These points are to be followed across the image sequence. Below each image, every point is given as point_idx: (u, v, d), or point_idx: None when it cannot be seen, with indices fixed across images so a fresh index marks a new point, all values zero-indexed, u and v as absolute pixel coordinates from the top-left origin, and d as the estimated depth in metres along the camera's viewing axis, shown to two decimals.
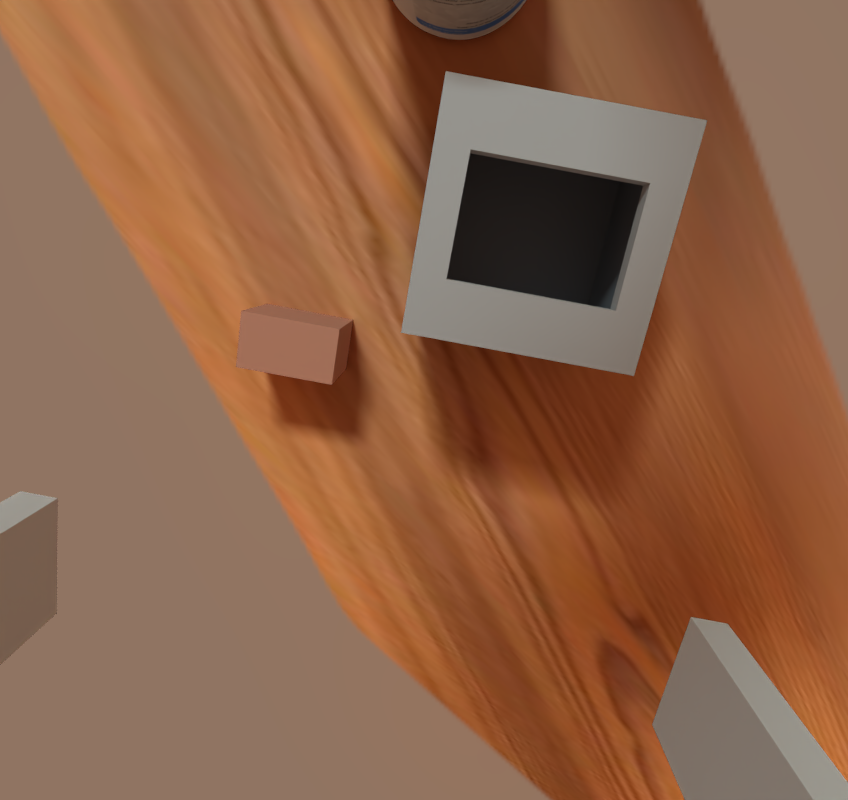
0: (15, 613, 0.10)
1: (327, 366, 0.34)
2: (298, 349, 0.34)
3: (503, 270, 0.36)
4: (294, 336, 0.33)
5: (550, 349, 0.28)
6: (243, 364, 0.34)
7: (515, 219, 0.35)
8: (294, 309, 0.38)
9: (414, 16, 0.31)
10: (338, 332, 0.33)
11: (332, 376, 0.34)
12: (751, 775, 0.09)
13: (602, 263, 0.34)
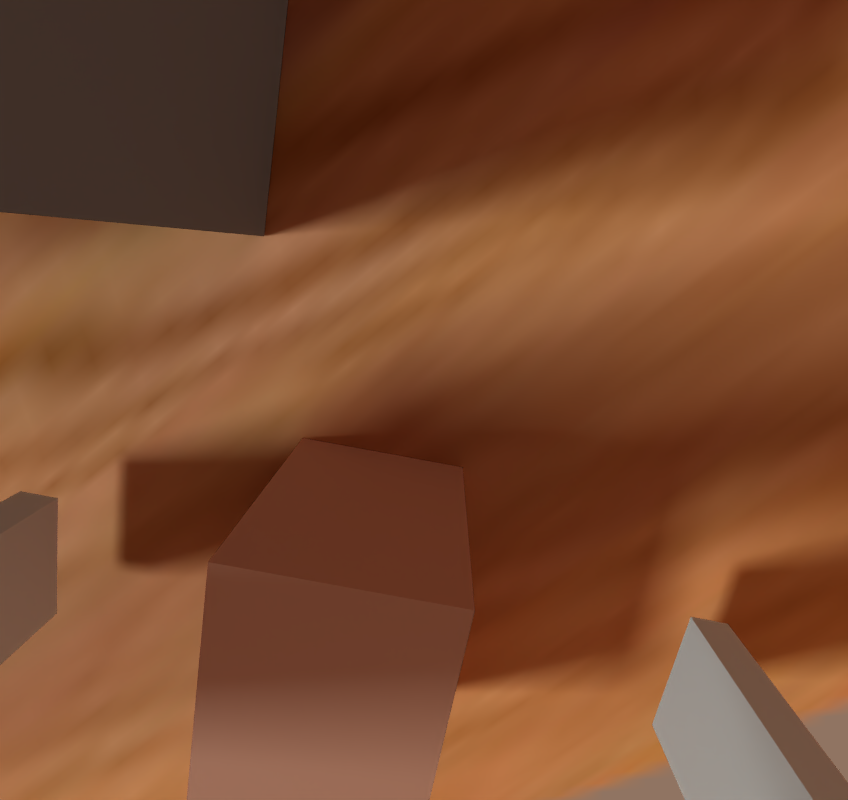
0: (15, 613, 0.10)
1: (384, 623, 0.07)
2: (313, 726, 0.08)
3: None
4: (259, 737, 0.08)
5: None
6: None
7: None
8: None
9: None
10: (226, 565, 0.07)
11: (435, 602, 0.07)
12: (750, 774, 0.09)
13: None
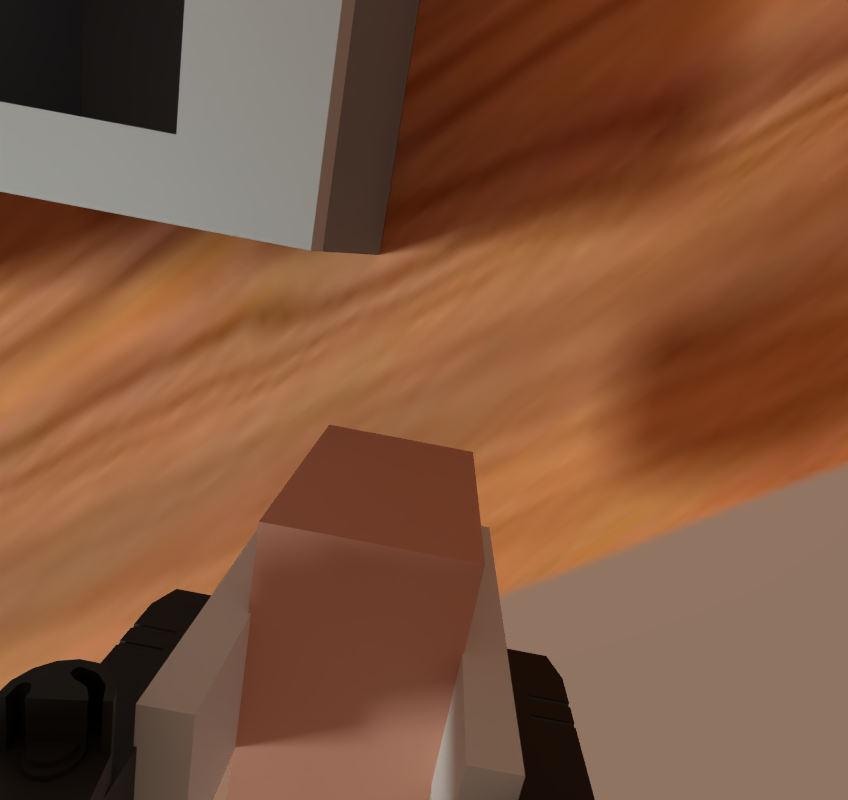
0: None
1: (407, 575, 0.08)
2: (345, 667, 0.09)
3: None
4: (298, 676, 0.09)
5: None
6: None
7: None
8: None
9: None
10: (274, 525, 0.08)
11: (451, 557, 0.08)
12: None
13: None
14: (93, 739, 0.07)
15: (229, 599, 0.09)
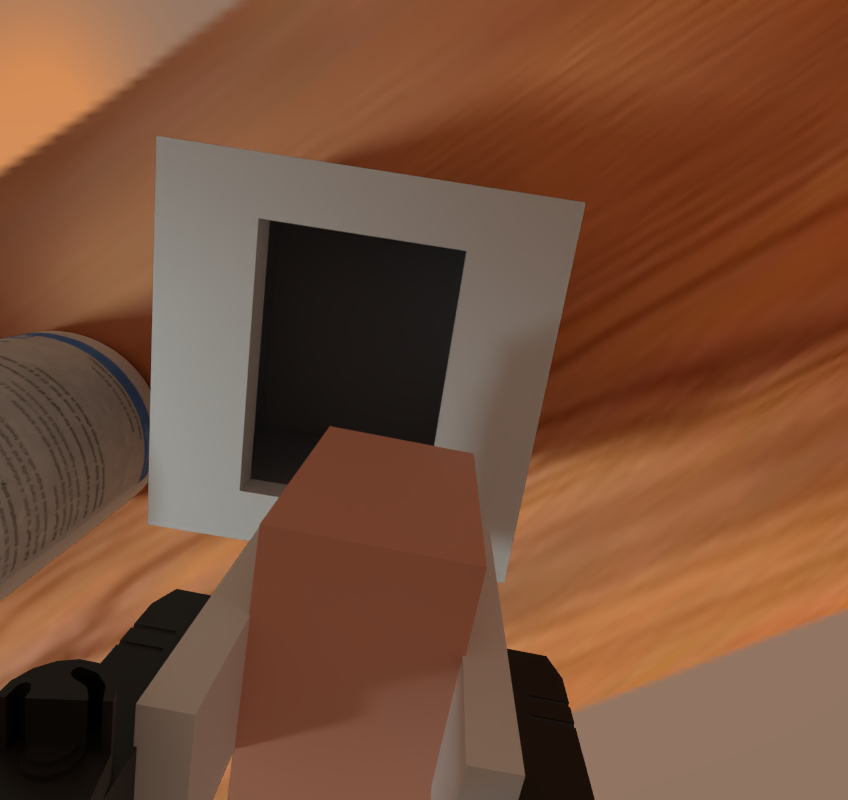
0: None
1: (409, 578, 0.08)
2: (346, 670, 0.09)
3: (426, 359, 0.26)
4: (298, 679, 0.09)
5: (534, 356, 0.16)
6: None
7: (359, 346, 0.26)
8: None
9: (139, 483, 0.27)
10: (275, 527, 0.08)
11: (453, 560, 0.08)
12: None
13: None
14: (93, 739, 0.07)
15: (229, 599, 0.09)
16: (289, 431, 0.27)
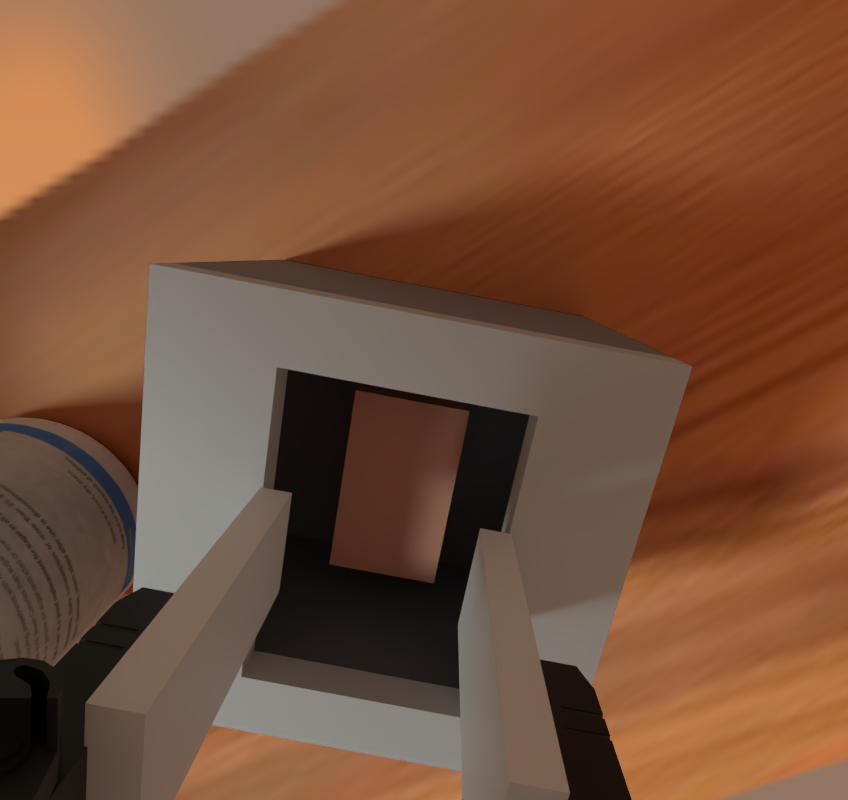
0: (268, 588, 0.12)
1: (430, 418, 0.17)
2: (397, 470, 0.17)
3: None
4: (372, 476, 0.17)
5: (613, 541, 0.13)
6: (429, 570, 0.18)
7: None
8: None
9: (120, 594, 0.23)
10: (363, 392, 0.17)
11: (453, 408, 0.17)
12: (479, 635, 0.11)
13: None
14: (38, 737, 0.06)
15: (192, 597, 0.09)
16: (294, 539, 0.23)
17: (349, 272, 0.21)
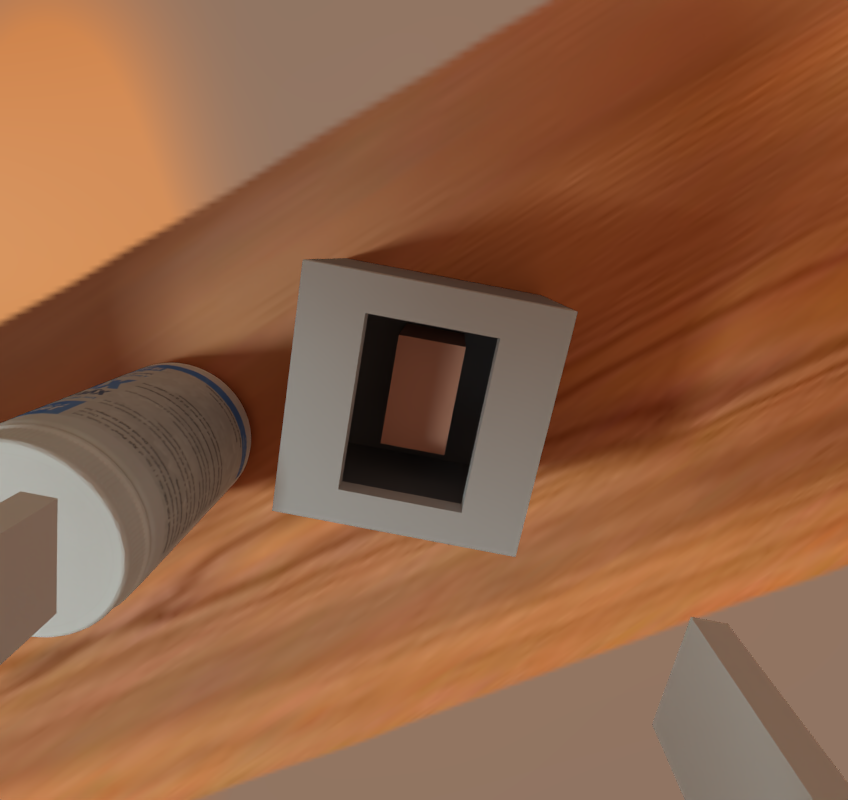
0: (15, 613, 0.10)
1: (442, 351, 0.28)
2: (423, 383, 0.29)
3: (457, 393, 0.34)
4: (408, 387, 0.29)
5: (541, 407, 0.25)
6: (441, 446, 0.30)
7: None
8: None
9: (234, 480, 0.35)
10: (403, 336, 0.28)
11: (456, 345, 0.28)
12: (750, 775, 0.09)
13: None
14: None
15: None
16: (350, 444, 0.35)
17: None
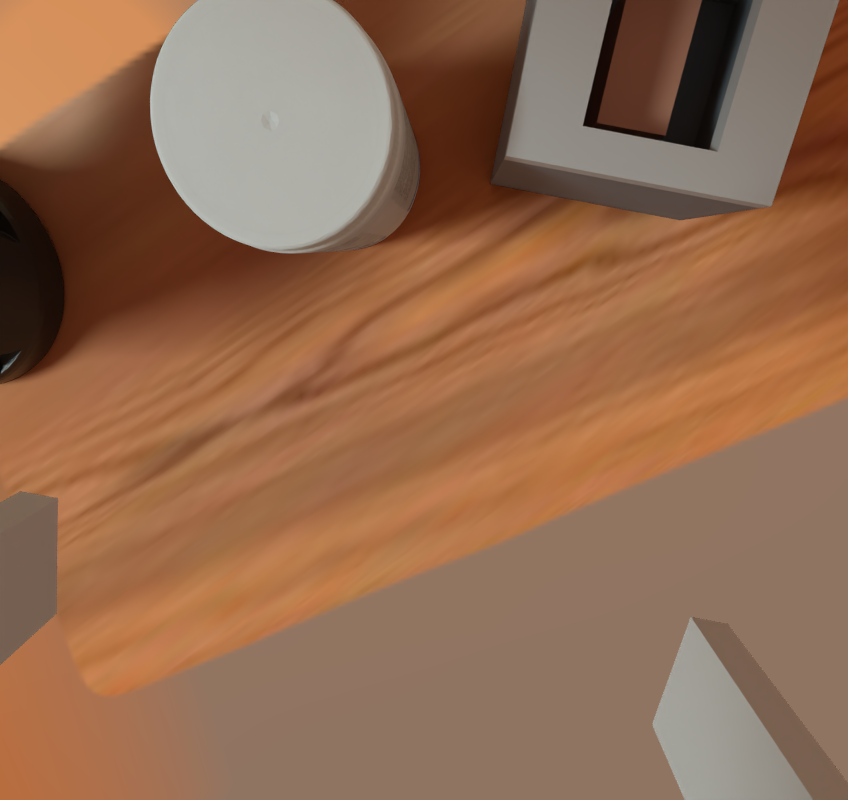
0: (15, 613, 0.10)
1: (676, 5, 0.26)
2: (650, 46, 0.27)
3: None
4: (633, 51, 0.27)
5: (821, 11, 0.23)
6: (663, 125, 0.28)
7: None
8: None
9: (406, 212, 0.33)
10: None
11: None
12: (750, 774, 0.09)
13: None
14: None
15: None
16: None
17: None
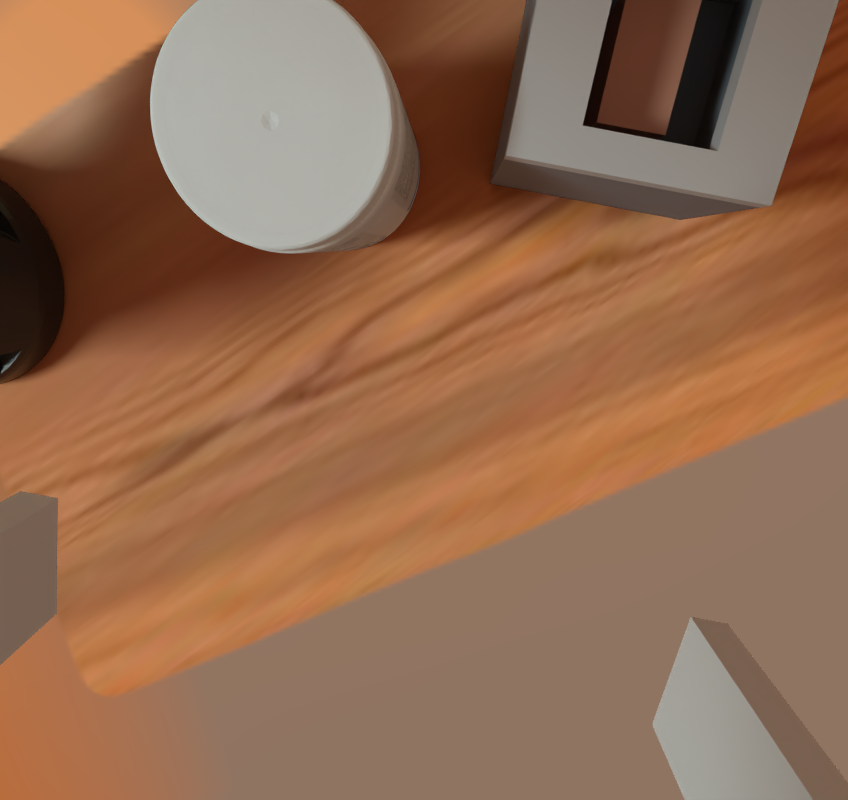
0: (15, 613, 0.10)
1: (676, 4, 0.26)
2: (650, 46, 0.27)
3: None
4: (633, 51, 0.27)
5: (821, 11, 0.23)
6: (663, 125, 0.28)
7: None
8: None
9: (406, 212, 0.33)
10: None
11: None
12: (750, 775, 0.09)
13: None
14: None
15: None
16: None
17: None
